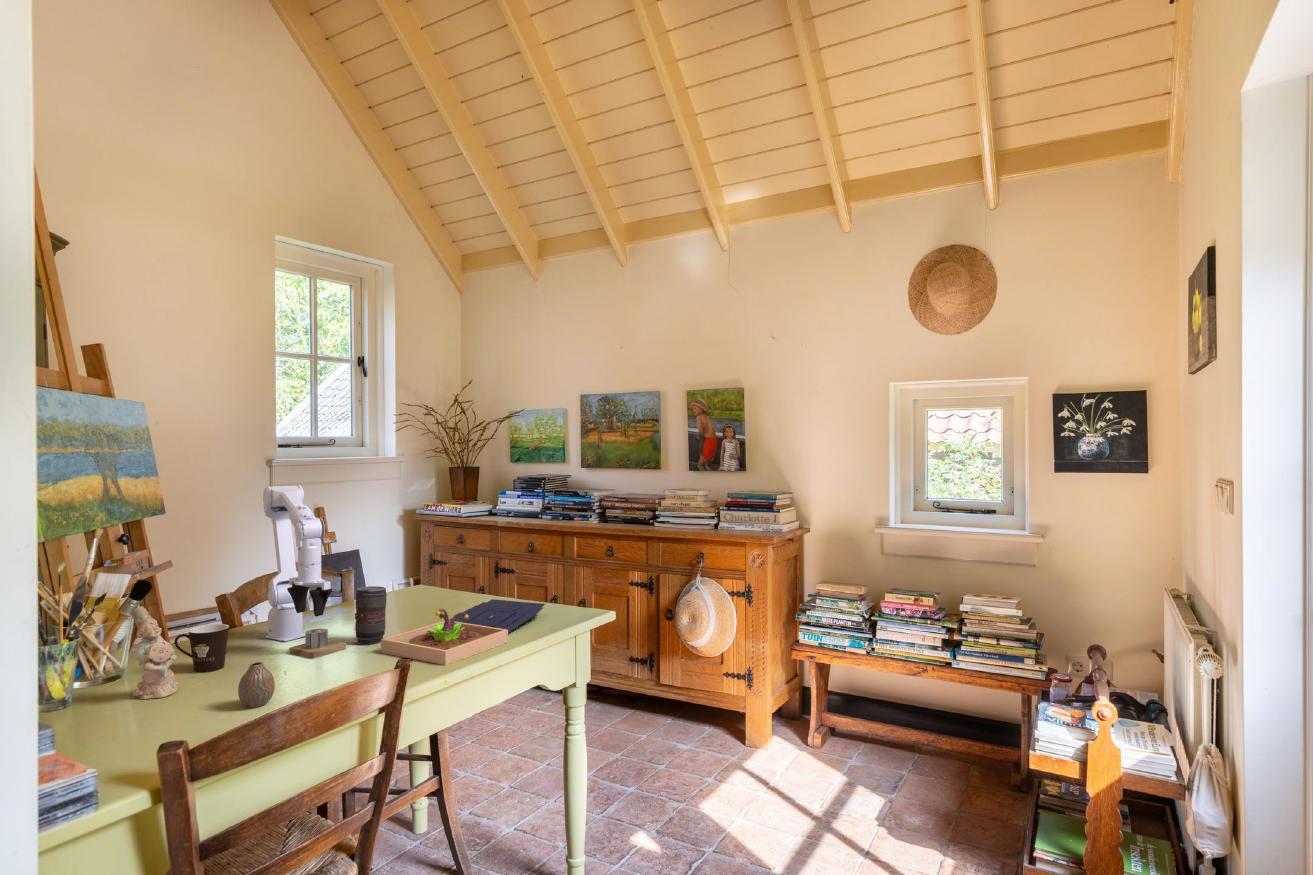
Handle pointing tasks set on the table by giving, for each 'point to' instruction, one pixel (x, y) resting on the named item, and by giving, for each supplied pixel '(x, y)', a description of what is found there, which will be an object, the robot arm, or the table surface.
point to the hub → (316, 638)
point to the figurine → (153, 658)
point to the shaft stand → (317, 649)
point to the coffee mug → (207, 647)
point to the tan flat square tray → (403, 648)
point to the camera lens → (370, 614)
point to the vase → (256, 686)
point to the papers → (500, 614)
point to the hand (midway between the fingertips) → (309, 613)
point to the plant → (446, 634)
